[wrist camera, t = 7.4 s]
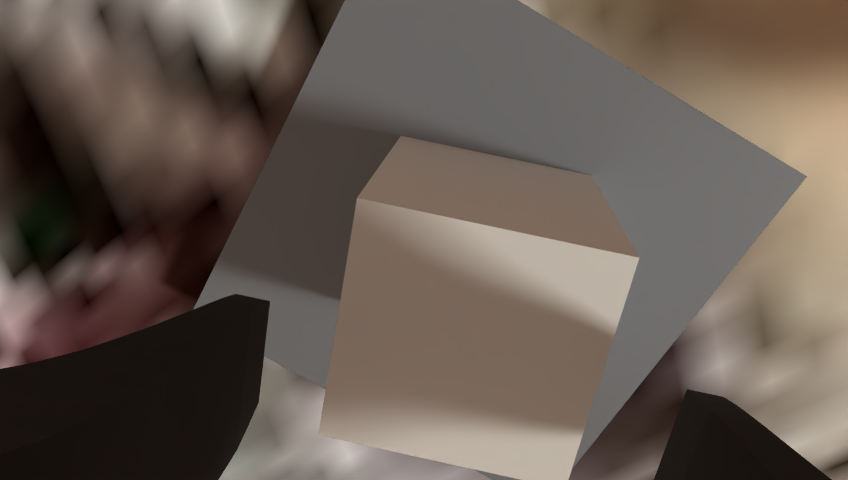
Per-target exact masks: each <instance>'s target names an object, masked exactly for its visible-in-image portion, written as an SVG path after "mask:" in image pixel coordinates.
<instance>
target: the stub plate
mask: <svg viewBox="0 0 848 480" xmlns="http://www.w3.org/2000/svg"><path fill="white" fill-rule="evenodd" d="M400 136H405V137H410V138H414V139H419V140H424V141H429V142H434V143H438V144H443V145H448V146H453V147H458V148H462V149H467V150H472V151H477V152H481V153H486V154H491V155H496V156H501V157H505V158H510V159H515V160H520V161H525V162H529V163H534V164H539V165H544V166H549V167H553V168H558V169H563V170H568V171H572V172H577V173H582V174H587V175H592V176H593V177H594V179H595V181H596V182H597V184H598V186H599V188H600V190H601V191H602V193H603V195H604V197H605V198H606V200H607V202H608V204H609V205H610V207H611V209H612V211H613V212H614V214H615V216H616V218H617V219H618V221H619V223H620V225H621V226H622V228H623V230H624V232H625V233H626V235H627V237H628V239H629V240H630V242H631V244H632V246H633V247H634V249H635V251H636V253H637V254H638V256H639V261H638V264H637V267H636V270H635V273H634V276H633V280H632V283H631V286H630V289H629V292H628V295H627V298H626V301H625V305H624V308H623V311H622V314H621V317H620V320H619V323H618V326H617V330H616V333H615V336H614V339H613V342H612V345H611V348H610V351H609V355H608V358H607V361H606V364H605V367H604V370H603V373H602V376H601V379H600V383H599V386H598V389H597V392H596V395H595V398H594V401H593V404H592V408H591V411H590V414H589V417H588V420H587V423H586V426H585V429H584V433H583V436H582V439H581V442H580V445H579V448H578V451H577V454H576V458H575V461H574V464H573V467H574V466H575V465H576V463H577V462H578V461H579V460H580V458H581V457H582V456H583V455H584V453H585V452H586V451H587V450H588V448H589V447H590V446H591V445H592V443H593V442H594V441H595V440H596V438H597V437H598V436H599V435H600V434H601V432H602V431H603V430H604V429H605V427H606V426H607V425H608V424H609V422H610V421H611V420H612V419H613V417H614V416H615V415H616V414H617V412H618V411H619V410H620V409H621V407H622V406H623V405H624V404H625V402H626V401H627V400H628V399H629V397H630V396H631V395H632V394H633V392H634V391H635V390H636V389H637V387H638V386H639V385H640V384H641V382H642V381H643V380H644V379H645V377H646V376H647V375H648V374H649V373H650V371H651V370H652V369H653V368H654V366H655V365H656V364H657V363H658V361H659V360H660V359H661V358H662V356H663V355H664V354H665V353H666V351H667V350H668V349H669V348H670V346H671V345H672V344H673V343H674V341H675V340H676V339H677V338H678V336H679V335H680V334H681V333H682V331H683V330H684V329H685V328H686V326H687V325H688V324H689V323H690V321H691V320H692V319H693V318H694V316H695V315H696V314H697V313H698V312H699V310H700V309H701V308H702V307H703V305H704V304H705V303H706V302H707V300H708V299H709V298H710V297H711V295H712V294H713V293H714V292H715V290H716V289H717V288H718V287H719V285H720V284H721V283H722V282H723V280H724V279H725V278H726V277H727V275H728V274H729V273H730V272H731V270H732V269H733V268H734V267H735V265H736V264H737V263H738V262H739V260H740V259H741V258H742V257H743V255H744V254H745V253H746V252H747V251H748V249H749V248H750V247H751V246H752V244H753V243H754V242H755V241H756V239H757V238H758V237H759V236H760V234H761V233H762V232H763V231H764V229H765V228H766V227H767V226H768V224H769V223H770V222H771V221H772V219H773V218H774V217H775V216H776V214H777V213H778V212H779V211H780V209H781V208H782V207H783V206H784V204H785V203H786V202H787V201H788V199H789V198H790V197H791V196H792V195H793V193H794V192H795V191H796V190H797V188H798V187H799V186H800V185H801V183H802V182H803V181H804V180H805V178H806V177H807V176H805V175H804V174H802V173H800V172H799V171H797V170H795V169H794V168H792V167H790V166H789V165H787V164H786V163H784V162H782V161H781V160H779V159H777V158H776V157H774V156H772V155H771V154H769V153H768V152H766V151H764V150H763V149H761V148H759V147H758V146H756V145H754V144H753V143H751V142H749V141H748V140H746V139H745V138H743V137H741V136H740V135H738V134H736V133H735V132H733V131H731V130H730V129H728V128H726V127H725V126H723V125H722V124H720V123H718V122H717V121H715V120H713V119H712V118H710V117H708V116H707V115H705V114H703V113H702V112H700V111H699V110H697V109H695V108H694V107H692V106H690V105H689V104H687V103H685V102H684V101H682V100H680V99H679V98H677V97H676V96H674V95H672V94H671V93H669V92H667V91H666V90H664V89H662V88H661V87H659V86H657V85H656V84H654V83H653V82H651V81H649V80H648V79H646V78H644V77H643V76H641V75H639V74H638V73H636V72H634V71H633V70H631V69H630V68H628V67H626V66H625V65H623V64H621V63H620V62H618V61H616V60H615V59H613V58H611V57H610V56H608V55H607V54H605V53H603V52H602V51H600V50H598V49H597V48H595V47H593V46H592V45H590V44H588V43H587V42H585V41H584V40H582V39H580V38H579V37H577V36H575V35H574V34H572V33H570V32H569V31H567V30H565V29H564V28H562V27H561V26H559V25H557V24H556V23H554V22H552V21H551V20H549V19H547V18H546V17H544V16H542V15H541V14H539V13H538V12H536V11H534V10H533V9H531V8H529V7H528V6H526V5H524V4H523V3H521V2H520V1H518V0H345V1H344V3H343V5H342V7H341V9H340V11H339V13H338V15H337V17H336V19H335V21H334V23H333V25H332V27H331V29H330V32H329V34H328V36H327V38H326V40H325V42H324V44H323V46H322V48H321V50H320V52H319V54H318V56H317V58H316V60H315V62H314V64H313V66H312V68H311V70H310V72H309V74H308V76H307V78H306V81H305V83H304V85H303V87H302V89H301V91H300V93H299V95H298V97H297V99H296V101H295V103H294V105H293V107H292V109H291V111H290V113H289V115H288V117H287V119H286V121H285V123H284V125H283V127H282V130H281V132H280V134H279V136H278V138H277V140H276V142H275V144H274V146H273V148H272V150H271V152H270V154H269V156H268V158H267V160H266V162H265V164H264V166H263V168H262V170H261V172H260V174H259V176H258V178H257V181H256V183H255V185H254V187H253V189H252V191H251V193H250V195H249V197H248V199H247V201H246V203H245V205H244V207H243V209H242V211H241V213H240V215H239V217H238V219H237V221H236V223H235V225H234V227H233V230H232V232H231V234H230V236H229V238H228V240H227V242H226V244H225V246H224V248H223V250H222V252H221V254H220V256H219V258H218V260H217V262H216V264H215V266H214V268H213V270H212V272H211V274H210V276H209V279H208V281H207V283H206V285H205V287H204V289H203V291H202V293H201V295H200V297H199V299H198V301H197V303H196V305H195V307H194V309H196V308H198V307H201V306H203V305H206V304H208V303H211V302H213V301H216V300H218V299H221V298H224V297H227V296H230V295H234V294H239V295H244V296H249V297H253V298H258V299H263V300H267V301H270V307H269V316H268V325H267V333H266V342H265V351H264V356H265V357H267V358H269V359H271V360H273V361H274V362H276V363H278V364H280V365H282V366H284V367H285V368H287V369H289V370H291V371H293V372H295V373H297V374H298V375H300V376H302V377H304V378H306V379H308V380H309V381H311V382H313V383H315V384H317V385H319V386H321V387H322V388H324V389H326V385H327V379H328V373H329V367H330V360H331V354H332V348H333V342H334V336H335V330H336V324H337V318H338V311H339V305H340V299H341V293H342V287H343V281H344V275H345V268H346V262H347V256H348V250H349V244H350V238H351V232H352V226H353V219H354V213H355V207H356V201H357V197H358V196H359V194H360V193H361V192H362V190H363V189H364V187H365V186H366V185H367V183H368V182H369V180H370V179H371V177H372V176H373V175H374V173H375V172H376V170H377V169H378V168H379V166H380V165H381V163H382V162H383V160H384V159H385V158H386V156H387V155H388V153H389V152H390V151H391V149H392V148H393V146H394V145H395V144H396V142H397V141H398V139H399V138H400ZM573 467H572V468H573ZM474 470H475V469H474ZM476 471H478V472H480V473H481V474H483V475H485V476H487V477H489V478H491V479H492V480H520V479H515V478H511V477H506V476H502V475H497V474H493V473H488V472H484V471H479V470H476Z"/></svg>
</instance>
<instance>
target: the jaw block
mask: <svg viewBox="0 0 848 480" xmlns="http://www.w3.org/2000/svg"><path fill="white" fill-rule="evenodd" d="M638 261H639V256H638V254H637V253H636V251H635V249H634V247H633V246H632V244H631V242H630V240H629V239H628V237H627V235H626V233H625V232H624V230H623V228H622V226H621V225H620V223H619V221H618V219H617V218H616V216H615V214H614V212H613V211H612V209H611V207H610V205H609V204H608V202H607V200H606V198H605V197H604V195H603V193H602V191H601V190H600V188H599V186H598V184H597V182H596V181H595V179H594V177H593V176H592V175H587V174H582V173H577V172H572V171H568V170H563V169H558V168H553V167H549V166H544V165H539V164H534V163H529V162H525V161H520V160H515V159H510V158H505V157H501V156H496V155H491V154H486V153H481V152H477V151H472V150H467V149H462V148H458V147H453V146H448V145H443V144H438V143H434V142H429V141H424V140H419V139H414V138H410V137H405V136H400V138H399V139H398V141H397V142H396V144H395V145H394V146H393V148H392V149H391V151H390V152H389V153H388V155H387V156H386V158H385V159H384V160H383V162H382V163H381V165H380V166H379V168H378V169H377V170H376V172H375V173H374V175H373V176H372V177H371V179H370V180H369V182H368V183H367V185H366V186H365V187H364V189H363V190H362V192H361V193H360V194H359V196H358V197H357V201H356V207H355V213H354V219H353V226H352V232H351V238H350V244H349V250H348V256H347V262H346V268H345V275H344V281H343V287H342V293H341V299H340V305H339V311H338V318H337V324H336V330H335V336H334V342H333V348H332V354H331V360H330V367H329V373H328V379H327V385H326V391H325V397H324V403H323V409H322V416H321V422H320V428H319V434H318V435H322V436H326V437H331V438H335V439H340V440H344V441H349V442H353V443H358V444H362V445H367V446H371V447H376V448H380V449H385V450H389V451H394V452H398V453H403V454H407V455H412V456H416V457H421V458H425V459H430V460H434V461H439V462H443V463H448V464H452V465H457V466H461V467H466V468H470V469H475V470H479V471H484V472H488V473H493V474H497V475H502V476H506V477H511V478H515V479H520V480H568V479H569V476H570V473H571V470H572V467H573V464H574V461H575V458H576V454H577V451H578V448H579V445H580V442H581V439H582V436H583V433H584V429H585V426H586V423H587V420H588V417H589V414H590V411H591V408H592V404H593V401H594V398H595V395H596V392H597V389H598V386H599V383H600V379H601V376H602V373H603V370H604V367H605V364H606V361H607V358H608V355H609V351H610V348H611V345H612V342H613V339H614V336H615V333H616V330H617V326H618V323H619V320H620V317H621V314H622V311H623V308H624V305H625V301H626V298H627V295H628V292H629V289H630V286H631V283H632V280H633V276H634V273H635V270H636V267H637V264H638Z"/></svg>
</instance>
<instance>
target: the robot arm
mask: <svg viewBox="0 0 848 480" xmlns="http://www.w3.org/2000/svg"><path fill="white" fill-rule="evenodd" d="M269 307H270V301H267V300H263V299H258V298H253V297H249V296H244V295H239V294H234V295H230V296H227V297H224V298H221V299H218V300H216V301H213V302H211V303H208V304H206V305H203V306H201V307H198V308H196V309H193V310H191V311H189V312H186V313H184V314H181V315H179V316H176V317H174V318H171V319H169V320H166V321H164V322H161V323H159V324H156V325H154V326H151V327H148V328H145V329H143V330H140V331H137V332H134V333H131V334H128V335H125V336H123V337H120V338H117V339H114V340H111V341H108V342H105V343H103V344H100V345H97V346H93V347H90V348H87V349H83V350H80V351H76V352H73V353H69V354H66V355H62V356H58V357H54V358H50V359H46V360H42V361H38V362H33V363H29V364H24V365H20V366H14V367H9V368H3V369H0V480H218V479H219V478H220V476H221V475H222V473H223V471H224V470H225V468H226V467H227V465H228V463H229V462H230V460H231V459H232V457H233V455H234V454H235V452H236V450H237V449H238V446H239V444H240V442H241V440H242V438H243V436H244V434H245V432H246V429H247V427H248V425H249V423H250V420H251V418H252V416H253V414H254V411H255V409H256V407H257V405H258V402H259V394H260V385H261V376H262V368H263V359H264V351H265V342H266V333H267V325H268V316H269ZM654 480H831V479H830V478H829V477H827V476H826V475H825V474H824V473H822V472H821V471H820V470H819V469H817V468H816V467H815V466H813V465H812V464H811V463H810V462H808V461H807V460H806V459H805V458H803V457H802V456H801V455H800V454H798V453H797V452H796V451H795V450H793V449H792V448H791V447H790V446H788V445H787V444H786V443H785V442H783V441H782V440H781V439H780V438H778V437H777V436H776V435H775V434H773V433H772V432H771V431H770V430H768V429H767V428H766V427H765V426H763V425H762V424H761V423H760V422H758V421H757V420H756V419H754V418H753V417H752V416H750V415H749V414H748V413H746V412H745V411H744V410H742V409H741V408H740V407H738V406H737V405H735V404H734V403H732V402H731V401H729V400H727V399H726V398H724V397H721V396H716V395H711V394H707V393H702V392H697V391H693V390H688V389H687V391H686V393H685V396H684V399H683V402H682V404H681V407H680V410H679V413H678V415H677V418H676V421H675V424H674V426H673V429H672V432H671V435H670V437H669V440H668V443H667V446H666V448H665V451H664V454H663V457H662V459H661V462H660V465H659V468H658V470H657V473H656V476H655V479H654Z"/></svg>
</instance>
